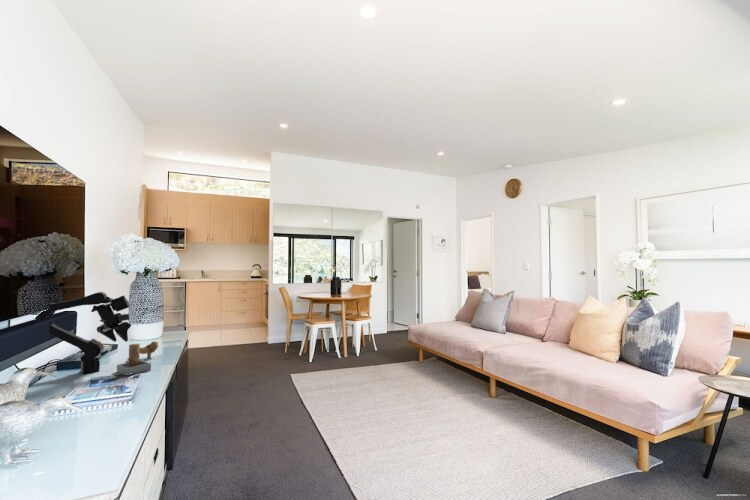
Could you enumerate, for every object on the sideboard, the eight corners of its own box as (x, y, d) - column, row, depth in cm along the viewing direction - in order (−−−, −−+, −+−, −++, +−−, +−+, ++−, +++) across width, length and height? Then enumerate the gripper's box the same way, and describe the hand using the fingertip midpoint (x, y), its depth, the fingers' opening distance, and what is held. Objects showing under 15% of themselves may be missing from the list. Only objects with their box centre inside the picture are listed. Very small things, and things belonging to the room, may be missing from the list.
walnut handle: (126, 371, 175) (127, 346, 175) (129, 369, 179) (129, 344, 180) (138, 370, 177) (139, 345, 177) (140, 368, 181) (141, 343, 181)
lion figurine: (156, 355, 208) (157, 340, 208) (158, 357, 204) (159, 341, 204) (126, 360, 198) (126, 343, 198) (127, 362, 194) (128, 345, 194)
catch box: (126, 375, 170) (126, 368, 171) (116, 371, 176) (117, 364, 177) (150, 370, 179) (150, 363, 179) (140, 366, 185) (141, 359, 186)
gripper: (133, 306, 184) (146, 332, 189) (111, 307, 191) (124, 332, 196) (113, 318, 174) (127, 344, 179) (89, 319, 182) (104, 344, 187)
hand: (121, 341), depth 186 cm, fingers open, 9 cm apart
